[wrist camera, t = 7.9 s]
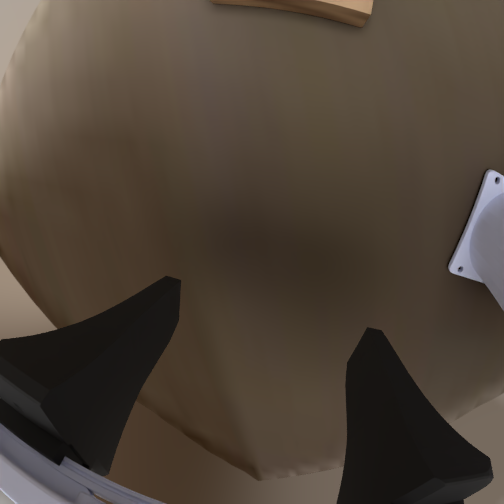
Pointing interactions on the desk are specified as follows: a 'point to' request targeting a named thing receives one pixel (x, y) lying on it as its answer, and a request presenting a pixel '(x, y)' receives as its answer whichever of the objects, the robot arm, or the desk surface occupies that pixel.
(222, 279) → the desk surface
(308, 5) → the bead block
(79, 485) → the robot arm
